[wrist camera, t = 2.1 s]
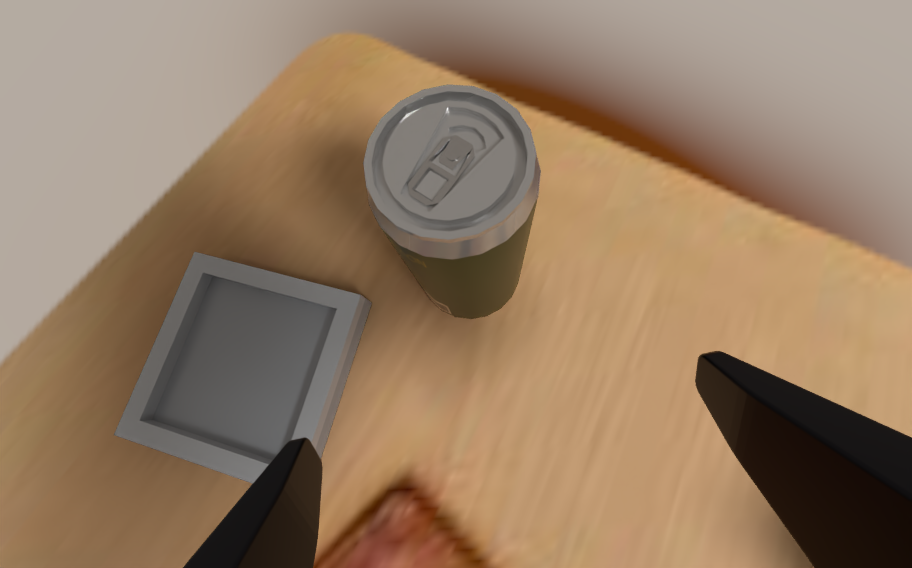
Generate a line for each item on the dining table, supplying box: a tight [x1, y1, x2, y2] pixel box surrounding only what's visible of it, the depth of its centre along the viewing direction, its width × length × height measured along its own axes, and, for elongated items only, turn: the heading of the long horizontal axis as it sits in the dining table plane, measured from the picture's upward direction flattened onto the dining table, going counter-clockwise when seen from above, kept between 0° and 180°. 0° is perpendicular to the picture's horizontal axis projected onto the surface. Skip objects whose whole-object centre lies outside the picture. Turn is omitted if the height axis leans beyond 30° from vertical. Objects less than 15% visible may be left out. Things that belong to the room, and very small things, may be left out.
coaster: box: [114, 252, 372, 483], centre depth 22 cm, size 10×10×2 cm
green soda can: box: [363, 85, 541, 319], centre depth 17 cm, size 5×5×12 cm
